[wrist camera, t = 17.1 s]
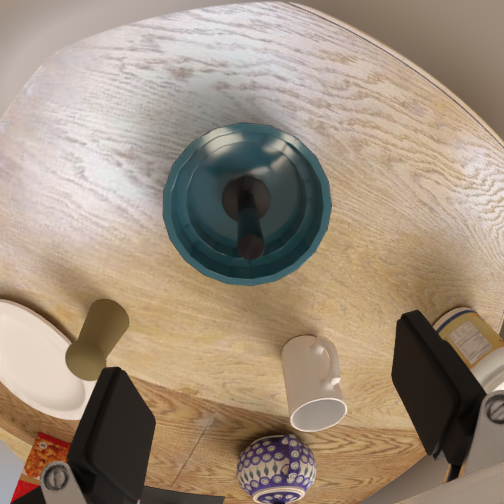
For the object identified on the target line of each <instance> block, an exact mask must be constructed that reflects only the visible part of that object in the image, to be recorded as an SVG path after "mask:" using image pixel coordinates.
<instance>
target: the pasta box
mask: <svg viewBox="0 0 504 504" xmlns="http://www.w3.org/2000/svg"><path fill="white" fill-rule="evenodd" d="M70 446H71V444H69V443H67V442H64V441H61V440H59V439H56V438H54V437H51V436H49V435H46V434H44V433H41V432H39V434H38V436H37V438H36V440H35V443H34V445H33V447H32V449H31V452H30V454H29V456H28V459H27V461H26V464H25V466H24V469H23V471H22V474H21V476H20V479H19V481H18V484H17V487H16V489H15V492H14V495H13V497H12V500H11V503H12V502H13V501H14V500H16V499H17V498H19V497H21V496H23V495H25V494H26V493H28V492H30V491H31V490H33V489H35V488H37V487H38V486H40V474H41V472H42V470H43V469H44V467H45V466H46V465H48V464H49V463H50V462H53V461H63V462H65V463H67V461H68V459H67V458H66V457H67V454H68V451H69V449H70ZM11 503H10V504H11ZM137 504H140V500H138V503H137Z"/></svg>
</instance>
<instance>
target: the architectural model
mask: <svg viewBox="0 0 504 504" xmlns="http://www.w3.org/2000/svg"><path fill="white" fill-rule="evenodd" d="M224 498H225V497H219V496H207V495H198V494H189V493H182V492H175V491H169V490H163V489H157V488H152V487H147V486H144V488H143V493H142V498H141V499H140V504H223V501H224Z"/></svg>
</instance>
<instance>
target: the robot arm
mask: <svg viewBox="0 0 504 504" xmlns="http://www.w3.org/2000/svg"><path fill="white" fill-rule="evenodd" d="M391 376H392V381H393V384H394V386H395V388H396V390H397V392H398V394H399V396H400V398H401V400H402V402H403V404H404V406H405V408H406V410H407V412H408V414H409V416H410V418H411V420H412V423H413V425H414V427H415V429H416V431H417V433H418V435H419V437H420V440H421V442H422V444H423V446H424V448H425V451H426V453H427V454H428V455H433V457H434V459H435V461H436V460H438V459H440V458H442V457H446V459H447V461H448V463H449V467H448V469H447V472H446V475H445V478H444V480H443V483H442V485H441V486H438V487H436V488H434V489H431V490H429V491H427V492H424V493H422V494H419V495H417V496H414V497H411V498H409V499H406V500H403V501H400V502H398V503H395V504H504V390H496V391H493V392H491V393H489V394H488V395H487V393H486V392H485V390H484V389H483V387H482V386H481V385H480V383H479V382H478V380H477V379H476V378H475V376H474V375H473V373H472V372H471V371H470V369H469V368H468V367H467V365H466V364H465V363H464V361H463V360H462V359H461V357H460V356H459V355H458V353H457V352H456V351H455V350H454V348H453V347H452V346H451V344H450V343H449V342H448V341H446V340H443V339H442V338H441V337H440V335H439V334H438V333H437V332H436V330H435V329H434V328H433V327H432V325H431V324H430V323H429V322H428V320H427V319H426V318H425V317H424V315H423V314H422V313H421V312H420V311H419V310H414V311H411V312H407V313H404V314H402V316H401V319H399V320H398V321H397V326H396V338H395V348H394V357H393V366H392V374H391ZM155 425H156V421H155V417H154V415H153V414H152V412H151V411H150V409H149V408H148V406H147V405H146V403H145V402H144V400H143V399H142V397H141V396H140V394H139V392H138V391H137V389H136V388H135V386H134V385H133V383H132V381H131V380H130V378H129V376H128V375H127V373H126V372H125V371H124V370H121V368H119V367H107V368H103V369H102V371H101V373H100V375H99V378H98V380H97V382H96V384H95V387H94V389H93V391H92V394H91V396H90V398H89V401H88V403H87V406H86V408H85V410H84V413H83V415H82V418H81V420H80V423H79V425H78V428H77V430H76V433H75V435H74V438H73V441H72V443H71V446H70V449H69V451H68V454H67V457H66V458H67V459H68V461H67V463H65V462H63V461H53V462H50V463H49V464H48V465H46V466H45V467H44V469H43V470H42V472H41V474H40V486H38V487H37V488H35V489H33V490H31V491H30V492H28V493H26V494H25V495H23V496H21V497H19V498H17V499H16V500H14V501H13V502H12V503H11V504H137V503H138V500H140V499H141V498H142V493H143V488H144V482H145V476H146V471H147V466H148V460H149V455H150V450H151V445H152V440H153V435H154V430H155Z"/></svg>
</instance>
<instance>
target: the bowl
mask: <svg viewBox="0 0 504 504" xmlns="http://www.w3.org/2000/svg"><path fill="white" fill-rule="evenodd" d="M241 175H251V176H255V177H257V178H259V179H260V180H262V181H263V182H264V184H265V185H266V186H267V188H268V191H269V193H270V198H271V199H270V206H269V209H268V211H267V213H266V214H265V215H264V216H263V217H262V218H261V219H260V225H261V230H262V234H263V239H264V244H265V250H264V253H263V254H262V256H260V257H259V258H258V259H255V260H246V259H244V258H242V257H241V256H240V255H239V253H238V251H237V221H235V220H233V219H231V218H230V217H229V216H228V215H227V214H226V212H225V210H224V208H223V205H222V196H223V191H224V189H225V187H226V185H227V184H228V183H229V182H230V181H231V180H232V179H234V178H235V177H238V176H241ZM331 208H332V203H331V195H330V188H329V181H328V179H327V177H326V175H325V173H324V171H323V169H322V167H321V165H320V163H319V161H318V159H317V157H316V156H315V155H314V154H313V153H312V152H311V151H310V150H309V149H308V148H307V147H306V146H305V145H304V144H303V143H302V142H301V141H300V140H299V139H298V138H296V137H294V136H292V135H290V134H288V133H286V132H284V131H282V130H280V129H278V128H275V127H273V126H270V125H262V124H253V123H238V124H233V125H229V126H224V127H220V128H216V129H213V130H212V131H210V132H208V133H207V134H205V135H203V136H202V137H200V138H198V139H197V140H195V141H193V142H192V143H191V144H190V145H189V146H188V147H187V148H186V149H185V150H184V152H183V153H182V154H181V155H180V156H179V158H178V159H177V160H176V161H175V163H174V164H173V166H172V168H171V171H170V173H169V176H168V179H167V181H166V184H165V187H164V190H163V219H164V222H165V226H166V229H167V232H168V235H169V238H170V240H171V242H172V243H173V245H174V246H175V248H176V249H177V250H178V252H179V253H180V255H181V256H182V258H183V259H184V260H185V261H186V262H187V263H189V264H190V265H191V266H193V267H194V268H195V269H196V270H198V271H199V272H200V273H202V274H203V275H205V276H207V277H210V278H212V279H215V280H218V281H220V282H223V283H226V284H232V285H245V286H251V285H252V286H254V285H259V284H264V283H269V282H274V281H277V280H279V279H281V278H283V277H284V276H286V275H288V274H290V273H292V272H294V271H296V270H297V269H299V268H300V267H301V266H302V265H303V264H304V263H305V262H306V261H307V260H308V259H309V258H310V257H311V256H312V255H313V254H314V253H315V252H316V250H317V248H318V246H319V245H320V243H321V241H322V239H323V237H324V235H325V234H326V232H327V229H328V224H329V219H330V214H331Z"/></svg>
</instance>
